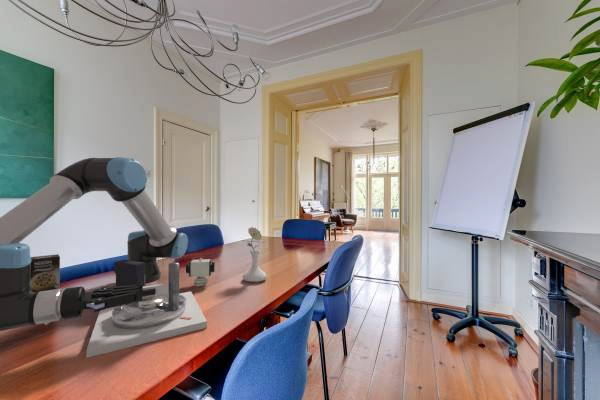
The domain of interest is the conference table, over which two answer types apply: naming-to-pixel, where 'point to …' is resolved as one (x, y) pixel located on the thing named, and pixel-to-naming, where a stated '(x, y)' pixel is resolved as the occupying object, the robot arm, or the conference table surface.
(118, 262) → the black upright block
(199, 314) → the base plate
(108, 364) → the conference table surface
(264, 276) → the flower in vase
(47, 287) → the brown food box
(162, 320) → the round disc with peg
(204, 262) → the pneumatic valve
